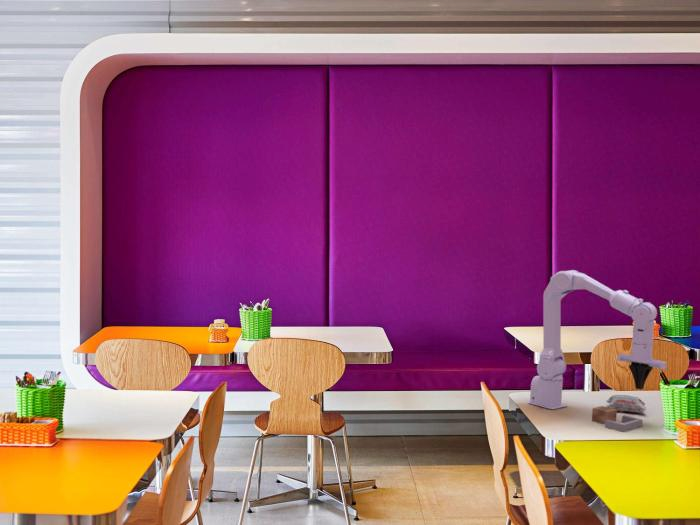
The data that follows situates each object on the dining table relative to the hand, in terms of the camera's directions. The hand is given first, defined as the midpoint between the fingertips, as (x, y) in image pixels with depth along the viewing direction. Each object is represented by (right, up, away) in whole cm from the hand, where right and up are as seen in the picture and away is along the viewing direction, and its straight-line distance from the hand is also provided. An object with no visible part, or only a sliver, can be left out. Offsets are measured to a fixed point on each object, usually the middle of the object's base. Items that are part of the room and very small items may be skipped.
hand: (639, 388), depth 228 cm
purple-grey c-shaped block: (-6, -10, -4) cm, 13 cm away
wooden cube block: (-10, -10, +1) cm, 15 cm away
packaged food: (+1, -10, +14) cm, 17 cm away
